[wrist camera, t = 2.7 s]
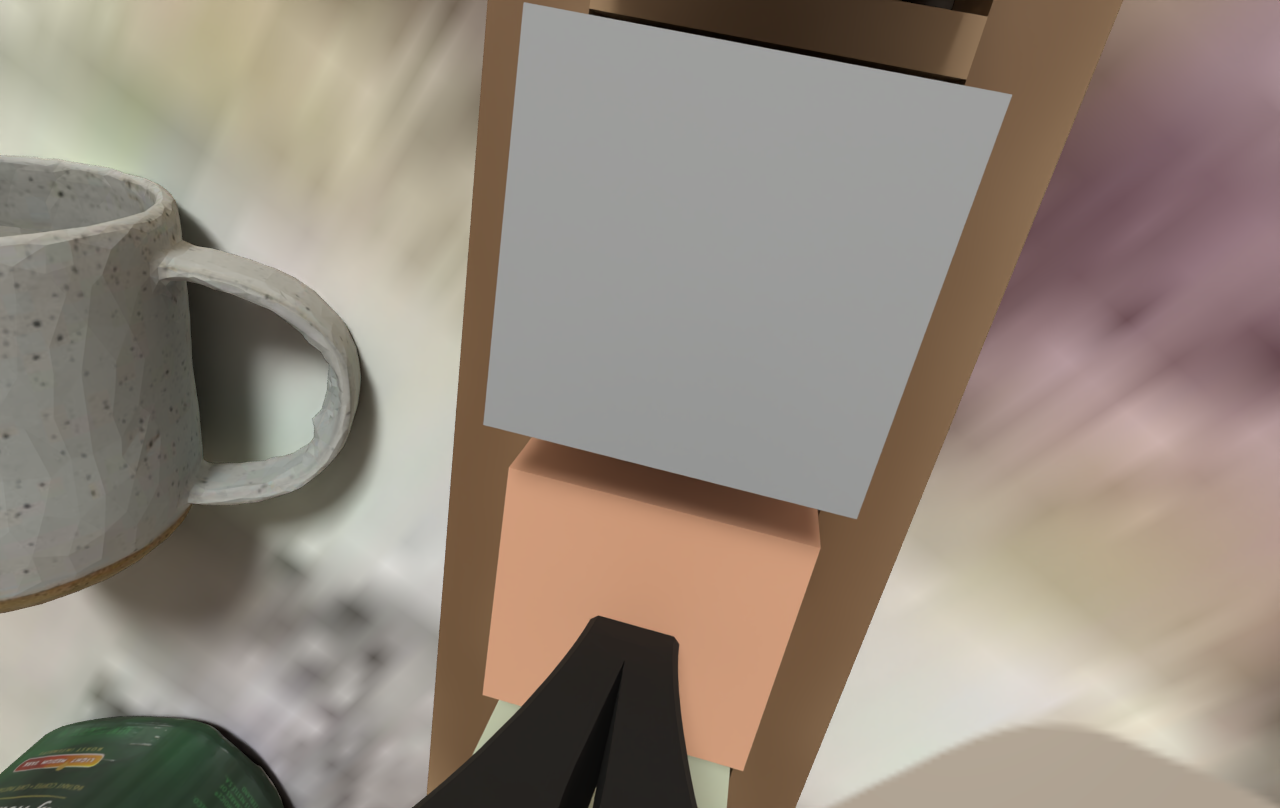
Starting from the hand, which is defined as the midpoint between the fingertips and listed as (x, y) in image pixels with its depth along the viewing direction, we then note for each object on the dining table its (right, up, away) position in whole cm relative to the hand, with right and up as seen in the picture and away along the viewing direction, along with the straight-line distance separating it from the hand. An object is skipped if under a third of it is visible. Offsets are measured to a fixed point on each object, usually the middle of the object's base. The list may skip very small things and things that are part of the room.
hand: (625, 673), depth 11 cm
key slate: (+2, +7, +1) cm, 7 cm away
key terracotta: (+1, +2, +5) cm, 5 cm away
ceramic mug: (-12, +6, +7) cm, 15 cm away
